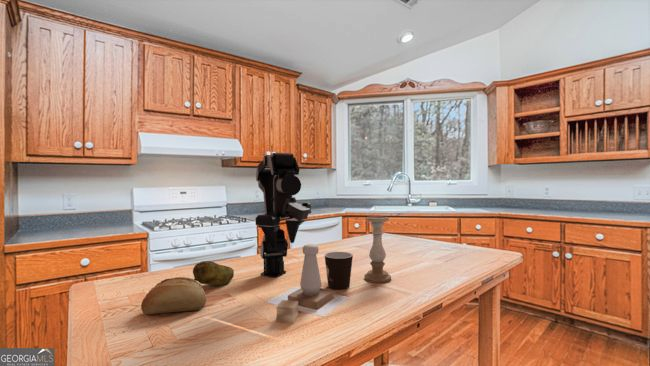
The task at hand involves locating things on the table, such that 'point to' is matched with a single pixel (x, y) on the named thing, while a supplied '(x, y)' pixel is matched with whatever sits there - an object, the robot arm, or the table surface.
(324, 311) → the white flat rectangular panel
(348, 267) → the coffee mug
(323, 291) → the walnut base block
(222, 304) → the table surface
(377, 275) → the candle holder
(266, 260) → the robot arm
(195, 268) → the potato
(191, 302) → the bread roll
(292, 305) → the maple block
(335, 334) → the table surface
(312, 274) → the salt shaker
